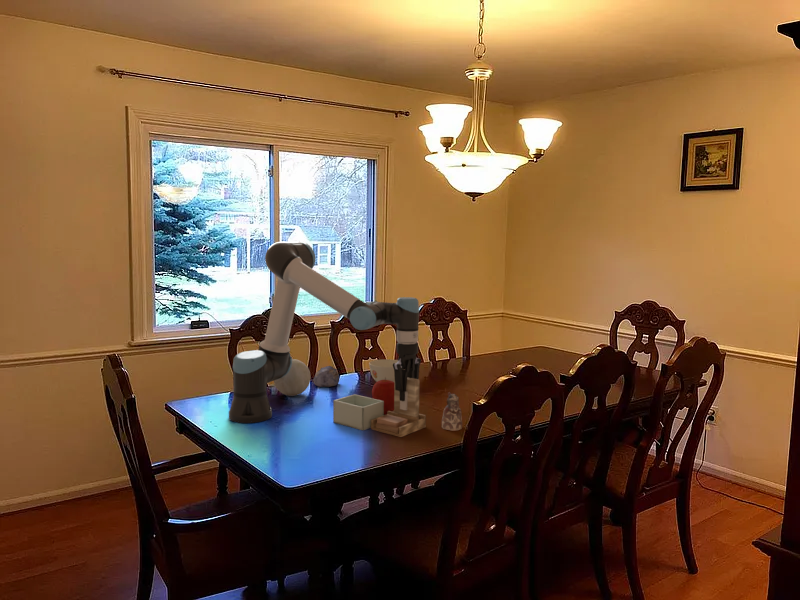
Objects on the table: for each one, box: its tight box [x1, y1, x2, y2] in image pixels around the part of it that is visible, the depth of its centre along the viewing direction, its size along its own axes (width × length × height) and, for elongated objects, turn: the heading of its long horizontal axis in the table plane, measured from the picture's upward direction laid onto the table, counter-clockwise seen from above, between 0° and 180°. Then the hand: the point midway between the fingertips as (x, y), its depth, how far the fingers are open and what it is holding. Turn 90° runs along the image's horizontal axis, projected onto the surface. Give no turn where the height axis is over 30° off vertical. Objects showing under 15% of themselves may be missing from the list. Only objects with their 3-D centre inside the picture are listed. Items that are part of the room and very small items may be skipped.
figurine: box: [441, 391, 463, 432], centre depth 215 cm, size 7×7×12 cm
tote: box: [332, 393, 384, 431], centre depth 219 cm, size 11×14×8 cm
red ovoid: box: [371, 377, 395, 415], centre depth 231 cm, size 10×10×14 cm
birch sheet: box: [393, 377, 420, 418], centre depth 217 cm, size 2×9×16 cm, turn 52°
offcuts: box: [376, 414, 409, 433], centre depth 212 cm, size 7×10×3 cm
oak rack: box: [370, 411, 427, 438], centre depth 214 cm, size 14×13×4 cm
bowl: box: [368, 358, 398, 383], centre depth 274 cm, size 16×16×10 cm
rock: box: [312, 365, 340, 388], centre depth 273 cm, size 11×10×10 cm
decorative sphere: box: [273, 358, 311, 397], centre depth 255 cm, size 15×15×15 cm
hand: (406, 408), depth 217 cm, fingers open, 3 cm apart
